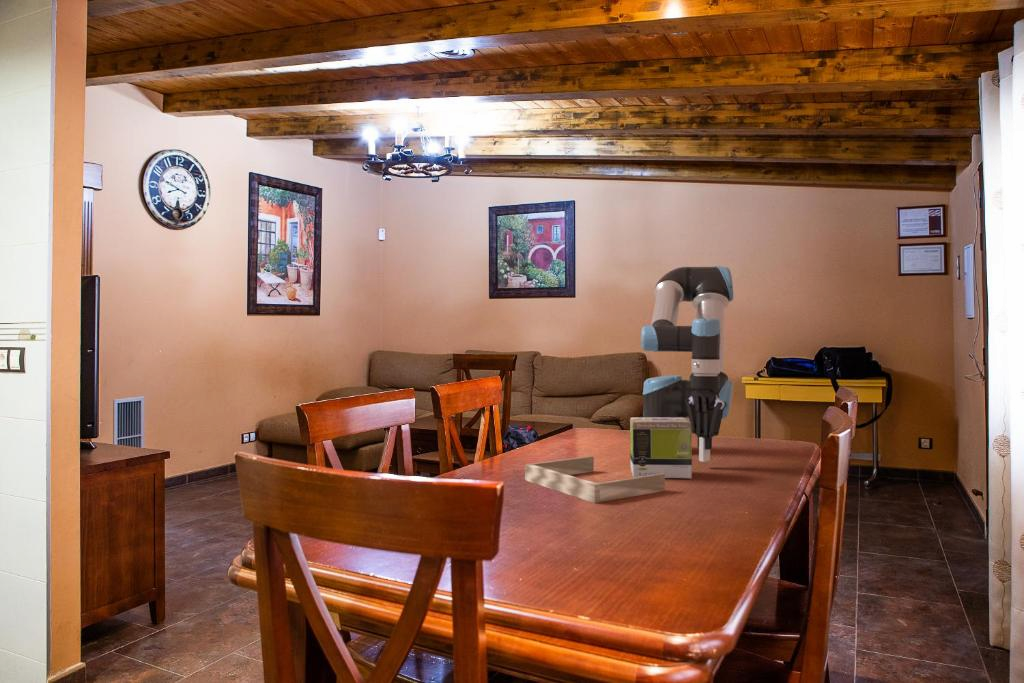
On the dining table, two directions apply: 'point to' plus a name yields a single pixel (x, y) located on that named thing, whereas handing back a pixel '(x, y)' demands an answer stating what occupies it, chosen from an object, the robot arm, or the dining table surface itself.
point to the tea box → (661, 447)
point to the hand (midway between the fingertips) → (704, 460)
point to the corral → (560, 480)
